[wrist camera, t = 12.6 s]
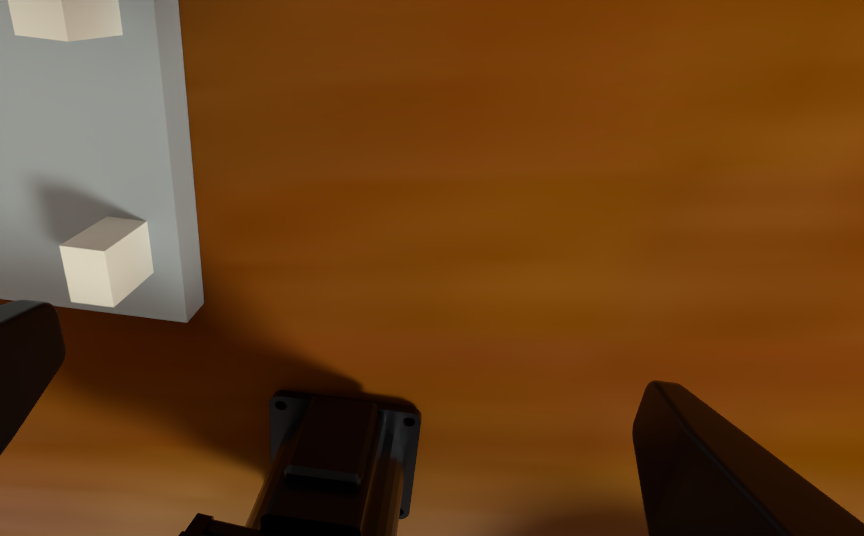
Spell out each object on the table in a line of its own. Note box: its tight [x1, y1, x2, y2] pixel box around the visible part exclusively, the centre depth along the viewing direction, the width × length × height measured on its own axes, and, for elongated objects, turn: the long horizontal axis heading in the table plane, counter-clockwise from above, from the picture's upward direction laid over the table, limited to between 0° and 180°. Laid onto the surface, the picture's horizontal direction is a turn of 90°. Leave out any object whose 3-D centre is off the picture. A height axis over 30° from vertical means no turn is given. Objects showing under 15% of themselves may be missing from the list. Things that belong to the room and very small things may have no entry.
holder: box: [0, 0, 204, 323], centre depth 18 cm, size 14×10×4 cm
